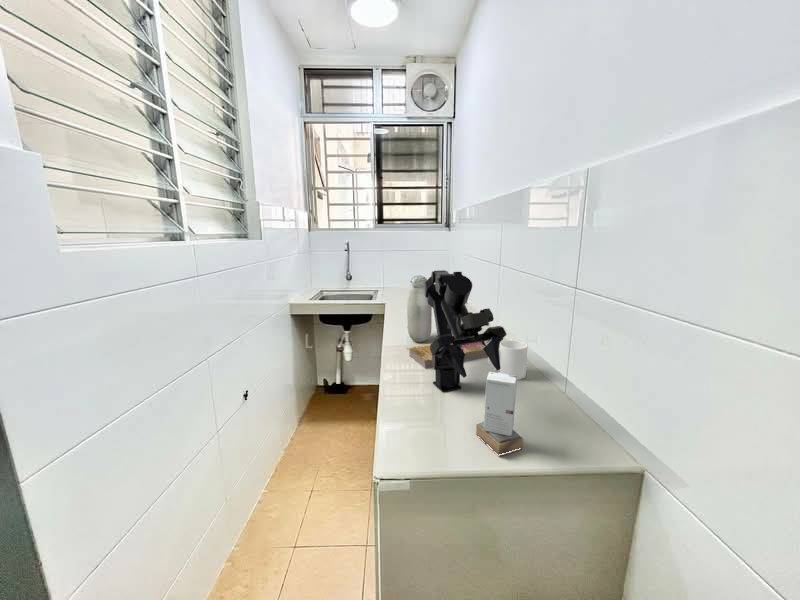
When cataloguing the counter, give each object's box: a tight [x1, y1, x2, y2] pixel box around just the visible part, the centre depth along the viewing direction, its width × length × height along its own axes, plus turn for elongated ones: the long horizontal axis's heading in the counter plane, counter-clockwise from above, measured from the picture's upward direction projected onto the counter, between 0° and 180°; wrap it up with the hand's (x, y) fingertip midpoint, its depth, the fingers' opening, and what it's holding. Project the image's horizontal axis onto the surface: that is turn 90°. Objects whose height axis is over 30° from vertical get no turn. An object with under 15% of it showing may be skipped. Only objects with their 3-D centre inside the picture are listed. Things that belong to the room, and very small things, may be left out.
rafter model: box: [405, 342, 500, 370], centre depth 124 cm, size 35×14×6 cm, turn 113°
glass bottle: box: [406, 275, 433, 343], centre depth 137 cm, size 10×10×28 cm
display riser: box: [475, 421, 524, 455], centre depth 72 cm, size 6×8×3 cm
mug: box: [487, 339, 529, 381], centre depth 105 cm, size 12×8×10 cm
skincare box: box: [483, 371, 518, 436], centre depth 71 cm, size 6×4×12 cm
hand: (482, 373), depth 76 cm, fingers open, 9 cm apart
